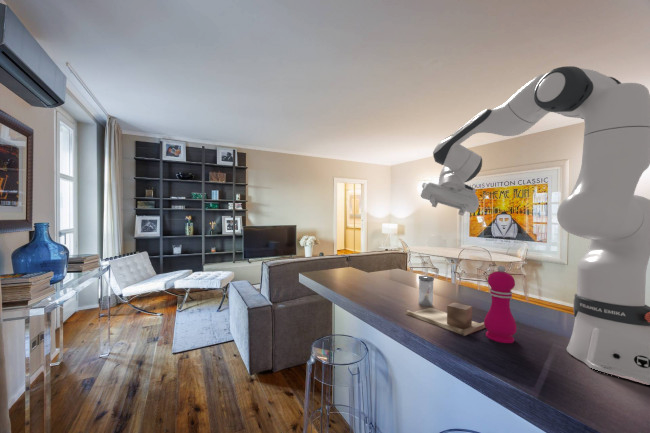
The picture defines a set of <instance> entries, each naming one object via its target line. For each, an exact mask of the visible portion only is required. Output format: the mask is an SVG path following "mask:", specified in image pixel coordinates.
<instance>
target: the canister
mask: <svg viewBox="0 0 650 433" xmlns="http://www.w3.org/2000/svg"><path fill="white" fill-rule="evenodd" d="M434 281H435V277H433V276H430V275H418V305H420V306H424V307H432V306H434V305H433V304H434Z"/></svg>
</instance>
